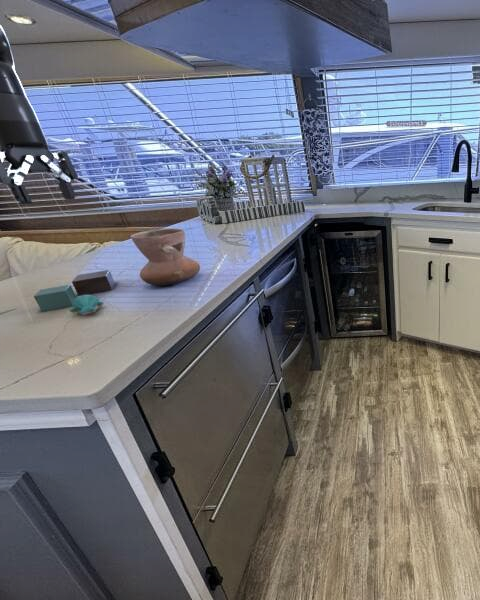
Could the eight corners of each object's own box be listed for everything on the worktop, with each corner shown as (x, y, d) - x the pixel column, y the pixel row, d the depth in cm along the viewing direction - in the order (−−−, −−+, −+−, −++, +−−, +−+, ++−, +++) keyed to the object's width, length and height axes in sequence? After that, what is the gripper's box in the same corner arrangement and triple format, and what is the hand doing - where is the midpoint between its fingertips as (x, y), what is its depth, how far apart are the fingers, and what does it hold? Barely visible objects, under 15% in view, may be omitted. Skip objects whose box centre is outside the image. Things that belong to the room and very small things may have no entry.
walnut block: (78, 295, 85) (71, 281, 83) (83, 288, 90) (77, 275, 89) (112, 289, 88) (106, 275, 87) (114, 282, 94) (109, 269, 92)
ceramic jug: (210, 280, 92) (195, 231, 87) (149, 295, 83) (129, 241, 78) (193, 268, 104) (180, 224, 99) (139, 280, 95) (120, 232, 90)
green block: (41, 311, 76) (33, 296, 74) (48, 304, 80) (40, 289, 79) (72, 305, 79) (65, 290, 77) (77, 298, 83) (70, 284, 81)
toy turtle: (105, 304, 79) (98, 289, 77) (106, 312, 74) (99, 297, 72) (72, 311, 75) (65, 296, 74) (72, 321, 70) (64, 305, 69)
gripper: (39, 125, 74) (70, 198, 80) (-50, 117, 61) (-4, 205, 67) (65, 123, 72) (95, 197, 79) (-20, 115, 60) (24, 205, 66)
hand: (49, 201), depth 73 cm, fingers open, 8 cm apart
